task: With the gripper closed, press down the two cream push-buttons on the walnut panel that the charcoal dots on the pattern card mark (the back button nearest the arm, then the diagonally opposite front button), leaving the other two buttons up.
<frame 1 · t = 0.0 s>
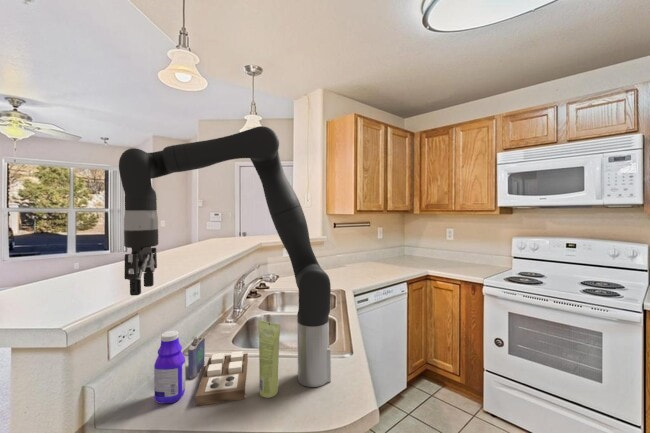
hand: (142, 290, 75), 29 cm above the counter, tool pointing down, fingers open, 8 cm apart
flask: (196, 371, 90), on the counter
button front outer: (214, 371, 85), point 3 cm above the counter, slide at 0.0 cm
button back outer: (218, 360, 91), point 3 cm above the counter, slide at 0.0 cm
tube: (269, 393, 79), on the counter
button back inner: (237, 358, 92), point 3 cm above the counter, slide at 0.0 cm
panel: (225, 380, 85), on the counter
bottle: (170, 398, 77), on the counter
button front inner: (235, 368, 86), point 3 cm above the counter, slide at 0.0 cm
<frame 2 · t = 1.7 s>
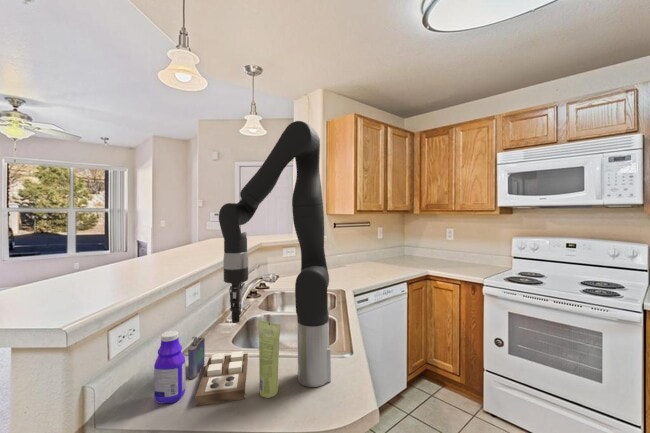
hand: (236, 318, 92), 16 cm above the counter, tool pointing down, fingers open, 5 cm apart
nothing on the counter moved.
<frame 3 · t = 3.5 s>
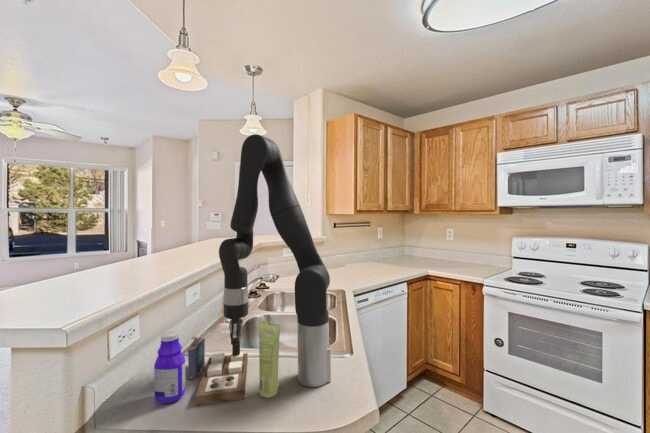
hand: (236, 354, 92), 4 cm above the counter, tool pointing down, fingers closed
button back inner: (237, 358, 92), point 3 cm above the counter, slide at 0.0 cm, touching gripper
everything else where it was.
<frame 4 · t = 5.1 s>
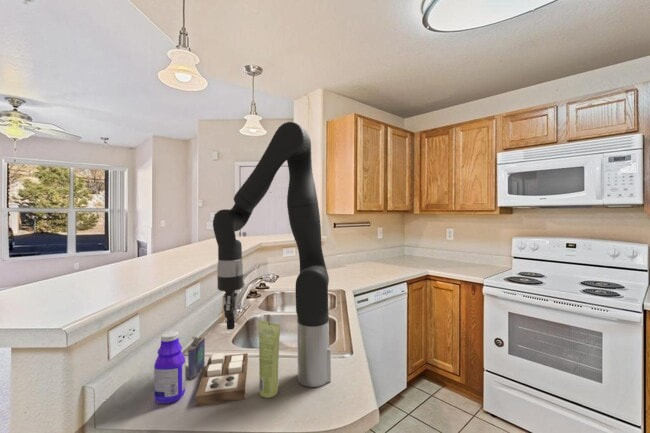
hand: (230, 328, 90), 13 cm above the counter, tool pointing down, fingers closed
button back inner: (237, 362, 92), point 1 cm above the counter, slide at 1.3 cm
everything else where it was.
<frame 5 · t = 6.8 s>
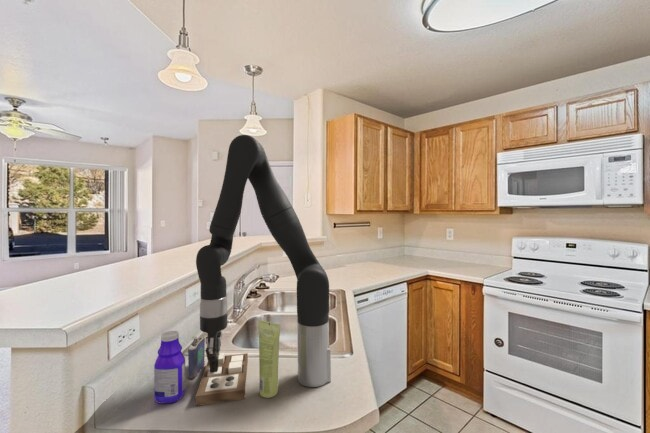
hand: (214, 370, 85), 3 cm above the counter, tool pointing down, fingers closed
button front outer: (214, 374, 85), point 2 cm above the counter, slide at 1.1 cm, touching gripper
everything else where it was.
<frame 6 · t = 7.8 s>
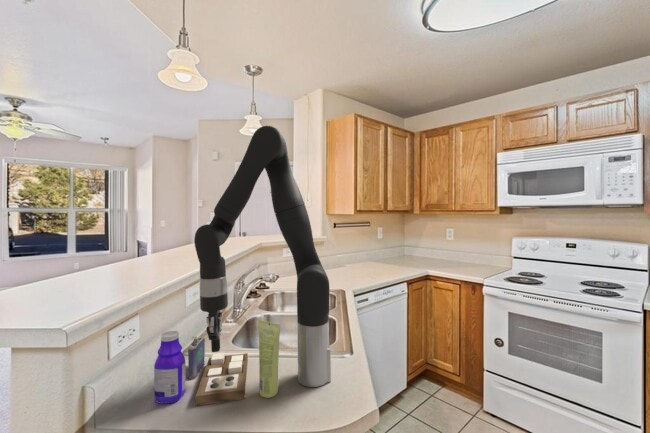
hand: (216, 350, 85), 9 cm above the counter, tool pointing down, fingers closed
button front outer: (214, 375, 85), point 1 cm above the counter, slide at 1.3 cm
everything else where it was.
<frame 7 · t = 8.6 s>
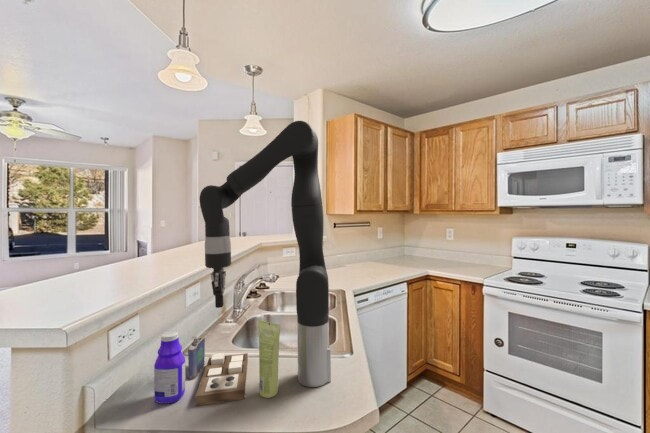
hand: (219, 306, 89), 20 cm above the counter, tool pointing down, fingers closed
nothing on the counter moved.
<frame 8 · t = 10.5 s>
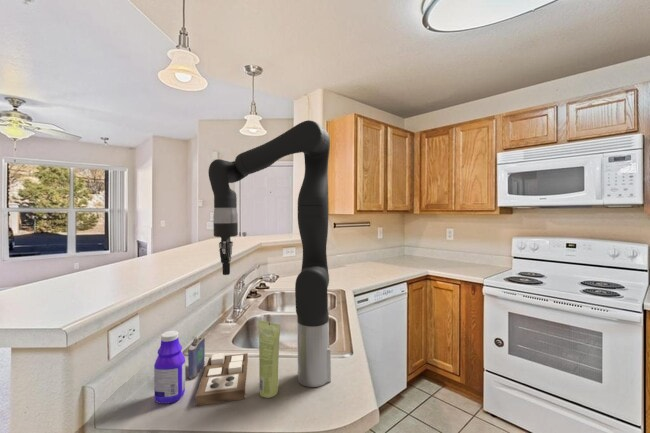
hand: (226, 274, 95), 29 cm above the counter, tool pointing down, fingers closed
nothing on the counter moved.
at the end: button back inner slide at 1.3 cm; button front outer slide at 1.3 cm; button front inner slide at 0.0 cm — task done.
